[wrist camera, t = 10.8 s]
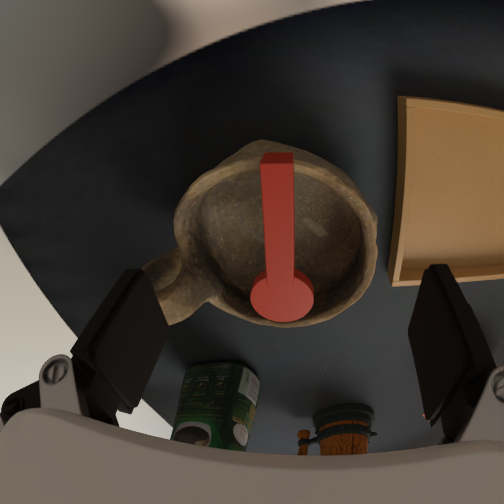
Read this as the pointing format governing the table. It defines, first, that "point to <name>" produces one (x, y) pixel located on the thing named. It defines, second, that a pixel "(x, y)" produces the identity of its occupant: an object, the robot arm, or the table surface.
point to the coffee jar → (217, 406)
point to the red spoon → (280, 246)
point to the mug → (340, 430)
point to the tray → (448, 191)
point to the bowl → (252, 239)
